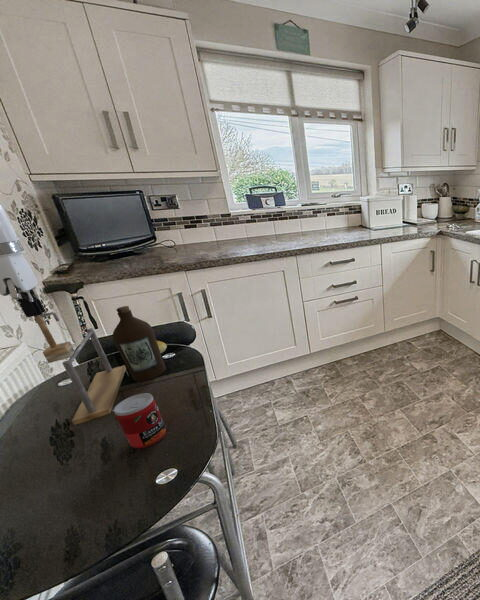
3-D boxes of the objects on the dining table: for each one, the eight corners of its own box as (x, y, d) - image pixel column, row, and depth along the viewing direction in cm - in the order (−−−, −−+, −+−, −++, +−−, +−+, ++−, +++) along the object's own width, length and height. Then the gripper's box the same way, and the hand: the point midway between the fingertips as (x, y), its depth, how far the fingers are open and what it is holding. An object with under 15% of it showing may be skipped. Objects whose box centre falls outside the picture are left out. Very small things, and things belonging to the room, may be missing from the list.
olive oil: (132, 373, 115) (103, 307, 106) (167, 362, 120) (143, 299, 111) (130, 387, 106) (98, 317, 98) (168, 374, 112) (141, 307, 103)
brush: (48, 363, 94) (13, 299, 87) (53, 357, 97) (19, 295, 90) (74, 356, 97) (42, 294, 89) (78, 350, 100) (47, 290, 93)
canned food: (149, 451, 79) (132, 414, 75) (122, 448, 80) (104, 412, 76) (174, 428, 86) (160, 393, 82) (149, 426, 87) (134, 392, 83)
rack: (74, 425, 90) (43, 370, 84) (98, 376, 115) (75, 330, 108) (110, 413, 94) (83, 359, 88) (126, 368, 118) (106, 323, 112)
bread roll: (138, 360, 123) (134, 351, 122) (146, 350, 131) (142, 341, 130) (164, 355, 126) (160, 346, 124) (169, 345, 134) (166, 336, 132)
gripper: (-5, 248, 89) (29, 310, 96) (-36, 257, 77) (5, 327, 83) (33, 243, 93) (62, 303, 100) (8, 251, 80) (44, 319, 87)
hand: (36, 314), depth 91 cm, fingers closed on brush, 1 cm apart
